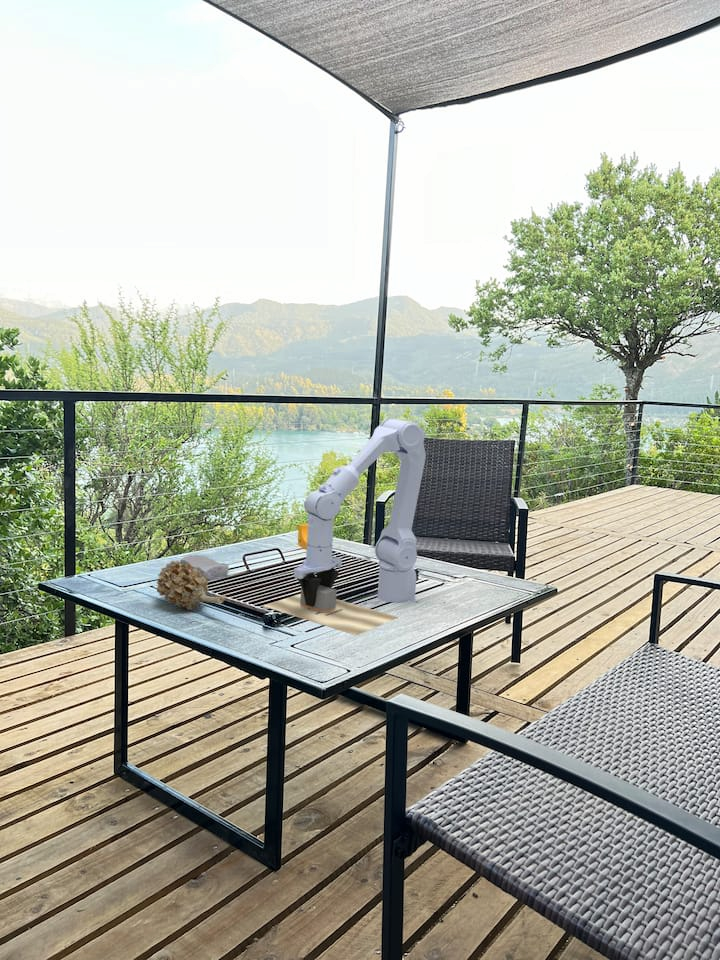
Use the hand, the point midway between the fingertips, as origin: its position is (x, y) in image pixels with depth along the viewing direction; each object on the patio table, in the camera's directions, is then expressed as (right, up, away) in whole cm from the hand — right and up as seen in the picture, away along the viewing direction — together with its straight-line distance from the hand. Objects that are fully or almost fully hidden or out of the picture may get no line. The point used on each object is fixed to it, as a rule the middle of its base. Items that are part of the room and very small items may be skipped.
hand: (316, 603), depth 177 cm
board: (+3, -3, -2) cm, 5 cm away
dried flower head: (-27, -1, -2) cm, 27 cm away
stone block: (-30, +3, +27) cm, 41 cm away
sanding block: (0, -1, 0) cm, 1 cm away
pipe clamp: (-5, +7, +58) cm, 59 cm away
